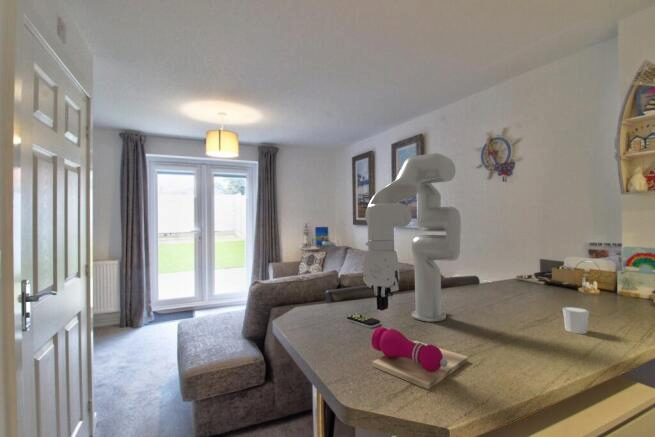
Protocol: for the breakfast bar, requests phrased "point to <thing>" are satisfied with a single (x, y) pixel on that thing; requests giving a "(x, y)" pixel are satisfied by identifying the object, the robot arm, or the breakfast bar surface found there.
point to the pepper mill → (407, 349)
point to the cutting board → (420, 368)
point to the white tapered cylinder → (576, 319)
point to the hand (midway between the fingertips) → (382, 308)
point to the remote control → (363, 320)
